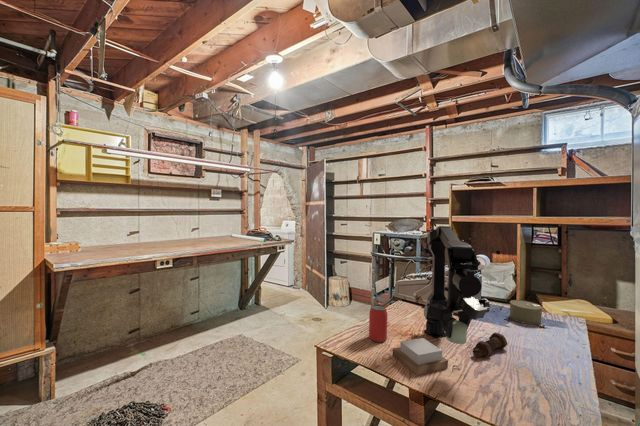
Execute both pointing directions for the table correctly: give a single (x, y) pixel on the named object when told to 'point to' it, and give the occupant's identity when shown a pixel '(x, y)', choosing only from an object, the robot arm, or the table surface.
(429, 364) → the walnut base slab
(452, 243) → the robot arm
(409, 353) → the grey top slab
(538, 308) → the can
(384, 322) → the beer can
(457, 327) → the green cylinder
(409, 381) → the table surface
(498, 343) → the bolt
